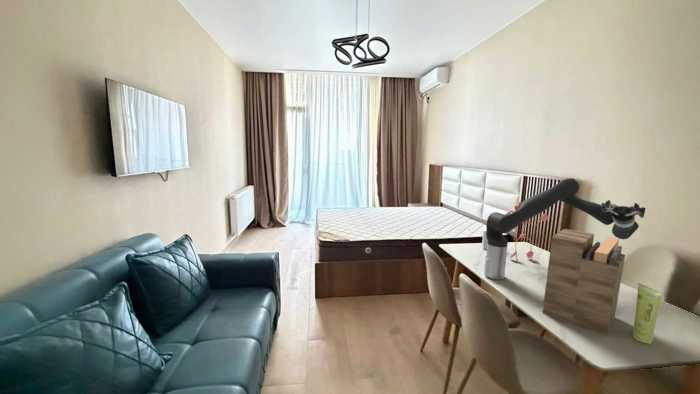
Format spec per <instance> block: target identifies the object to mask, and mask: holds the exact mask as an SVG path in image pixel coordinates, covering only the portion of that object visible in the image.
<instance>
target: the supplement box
mask: <svg viewBox="0 0 700 394" xmlns="http://www.w3.org/2000/svg"><path fill="white" fill-rule="evenodd" d="M487 242H488V240H487V237H486V227H483V228H482V241H481V246H482V250H487Z"/></svg>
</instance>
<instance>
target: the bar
mask: <svg viewBox="0 0 700 394" xmlns="http://www.w3.org/2000/svg"><path fill="white" fill-rule="evenodd" d="M619 242H620V239H619V238H617V237H611V236H610V237H609V236H608V237H606V239H605V240H604V241H603V242H602V243H600V247H599V248H598V249H597V250H596V251H595V255H594V261H596V262H601V263H605V264H606V263H607V262H608V260H609V259H610V257H611V256H612V254H613V253H614V251H615V250H616V249H617V247H618V246H619Z"/></svg>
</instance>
